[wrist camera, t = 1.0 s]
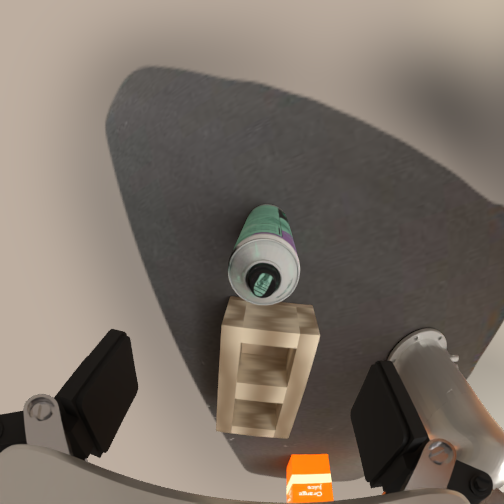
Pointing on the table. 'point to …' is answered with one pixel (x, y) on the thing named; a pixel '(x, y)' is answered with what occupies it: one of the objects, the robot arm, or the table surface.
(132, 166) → the table surface
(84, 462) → the robot arm
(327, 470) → the orange juice
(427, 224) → the table surface
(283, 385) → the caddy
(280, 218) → the spray can
